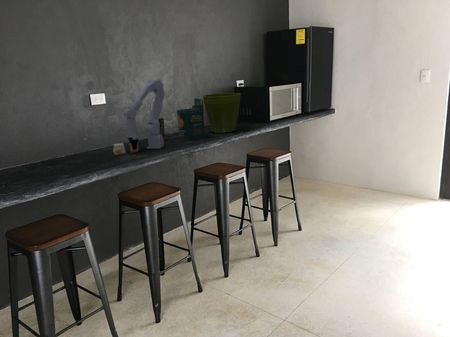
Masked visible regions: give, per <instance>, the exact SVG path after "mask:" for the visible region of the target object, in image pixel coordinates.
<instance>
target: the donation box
mask: <svg viewBox="0 0 450 337" xmlns="http://www.w3.org/2000/svg"><path fill="white" fill-rule="evenodd" d="M193 101H194V105H191V108H182V109H177V110H176V115H177V125H178V126H177V127H178V140H180V141H184V142H191V141H198V139H199V140H205V139H204V138H206V134H205V118H204V113H205V112H204V108H205V107H204V100H203V98H202V99H201V98H197V97H196V98H195V97H194V99H193Z"/></svg>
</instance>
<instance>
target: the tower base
mask: <svg viewBox="0 0 450 337" xmlns="http://www.w3.org/2000/svg"><path fill="white" fill-rule="evenodd" d="M112 151H113V154H114V155H116V156H117V155H122V154H126V148H124V149H122V150H115V149H114V148H113V149H112Z"/></svg>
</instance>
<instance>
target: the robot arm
mask: <svg viewBox="0 0 450 337" xmlns="http://www.w3.org/2000/svg"><path fill="white" fill-rule="evenodd" d="M164 85H165V84H164V83H163V82H162V80H160V79H149V80H148V81H147V83H145V85H144V87H143V89H142V91H140V94H139V95H138V97H137V98H134V99H132V100H131V104H130V105H129V106H127V108H125V110H124V112H123V116H124V117H125V121H126V122H125V123H126V130H127V134H126V135H125V136H126V138H127V139H128V141H129V143H131V144H132V148H133V150H136V149H137V143H138V142H139V138H137V137H138V130H137V122H136V117H137V112H138V111H139V110H140V108H142V106H143V101H144V100H145V99H146V97H147V96H148V95H149V94H150V93H151V92H153V94H154V97H155V98H154V100H153V106H152V111H151V114H150V118H149V120H148V121H147V124H146V125H145V127H144V128H145V131H146V133H147V142H148V146H147V147H146V149H161V148H163V147H165V144H164V141H163V136H162V134H159V131H160V123H159V118H160V117H161V111H162V106H163V102H164V98H165V91H164Z"/></svg>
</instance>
